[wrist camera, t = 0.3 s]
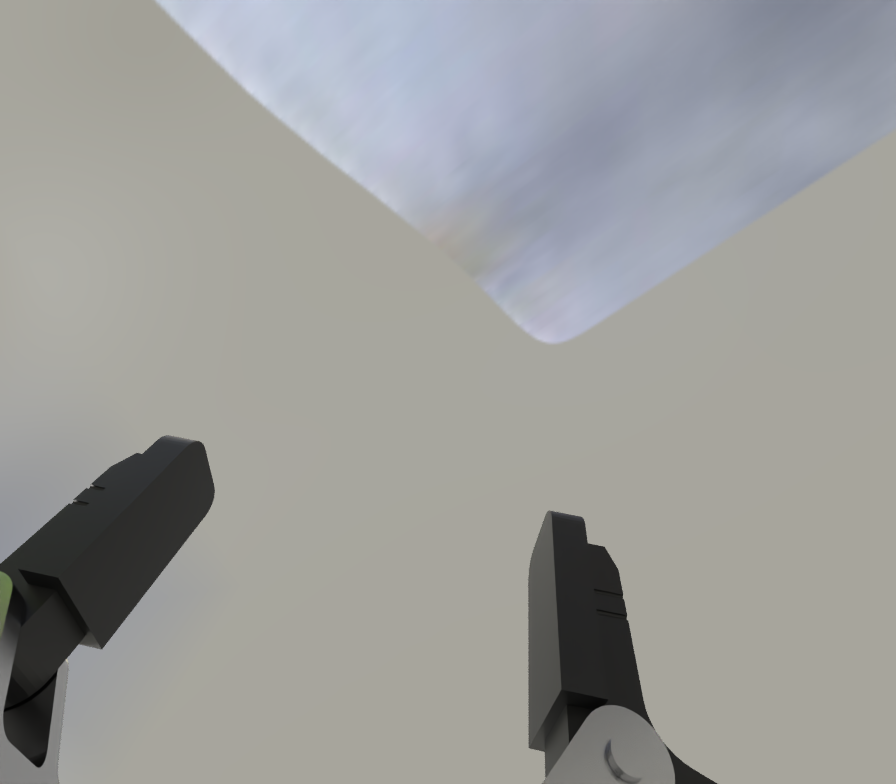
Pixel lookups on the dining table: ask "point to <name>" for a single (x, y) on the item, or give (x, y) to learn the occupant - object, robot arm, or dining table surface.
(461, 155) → the dining table surface
